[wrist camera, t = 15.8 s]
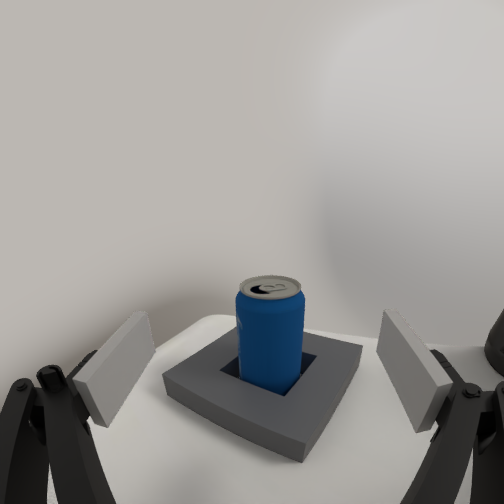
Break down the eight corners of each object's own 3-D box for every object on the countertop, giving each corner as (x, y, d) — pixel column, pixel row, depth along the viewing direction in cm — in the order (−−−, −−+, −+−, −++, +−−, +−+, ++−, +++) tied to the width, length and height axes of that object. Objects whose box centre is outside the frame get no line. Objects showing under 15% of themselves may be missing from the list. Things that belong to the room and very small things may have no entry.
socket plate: (358, 365, 31) (362, 345, 30) (302, 462, 18) (306, 443, 17) (250, 335, 40) (250, 317, 39) (167, 394, 27) (162, 374, 26)
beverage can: (235, 373, 31) (229, 277, 28) (287, 363, 33) (290, 271, 30) (247, 409, 25) (243, 303, 22) (308, 396, 26) (317, 293, 24)
